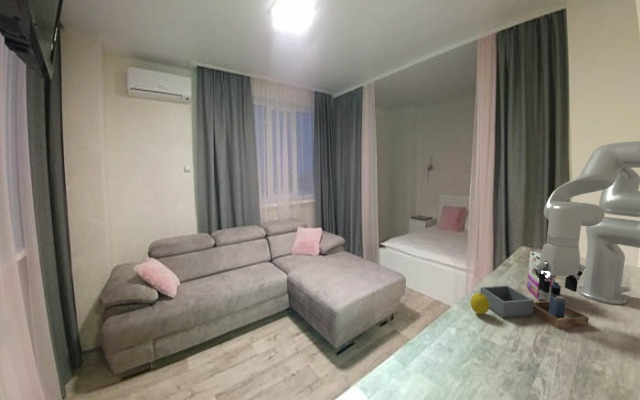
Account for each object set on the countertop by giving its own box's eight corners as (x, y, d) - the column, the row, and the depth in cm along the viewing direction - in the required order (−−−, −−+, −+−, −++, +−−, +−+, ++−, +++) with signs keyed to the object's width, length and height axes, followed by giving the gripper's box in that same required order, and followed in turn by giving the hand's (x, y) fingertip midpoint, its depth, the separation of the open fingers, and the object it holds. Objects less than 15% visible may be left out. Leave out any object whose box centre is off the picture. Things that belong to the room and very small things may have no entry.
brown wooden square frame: (554, 307, 89) (554, 300, 89) (587, 326, 78) (588, 317, 78) (527, 309, 88) (527, 302, 88) (557, 328, 78) (558, 320, 77)
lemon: (491, 319, 84) (492, 298, 83) (473, 318, 85) (474, 296, 84) (484, 310, 89) (485, 290, 88) (467, 309, 90) (468, 289, 89)
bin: (506, 299, 95) (507, 285, 95) (532, 316, 84) (533, 300, 84) (479, 301, 95) (480, 287, 94) (502, 318, 84) (503, 302, 83)
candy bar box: (554, 302, 92) (557, 261, 90) (537, 300, 94) (540, 260, 92) (541, 289, 102) (544, 251, 100) (526, 287, 104) (529, 250, 102)
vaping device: (555, 313, 85) (558, 281, 84) (565, 322, 80) (568, 288, 79) (546, 312, 86) (549, 280, 85) (555, 321, 81) (558, 287, 80)
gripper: (573, 237, 84) (568, 284, 86) (527, 239, 83) (523, 286, 85) (600, 244, 77) (593, 294, 79) (549, 245, 76) (544, 297, 78)
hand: (557, 290), depth 82 cm, fingers open, 9 cm apart
